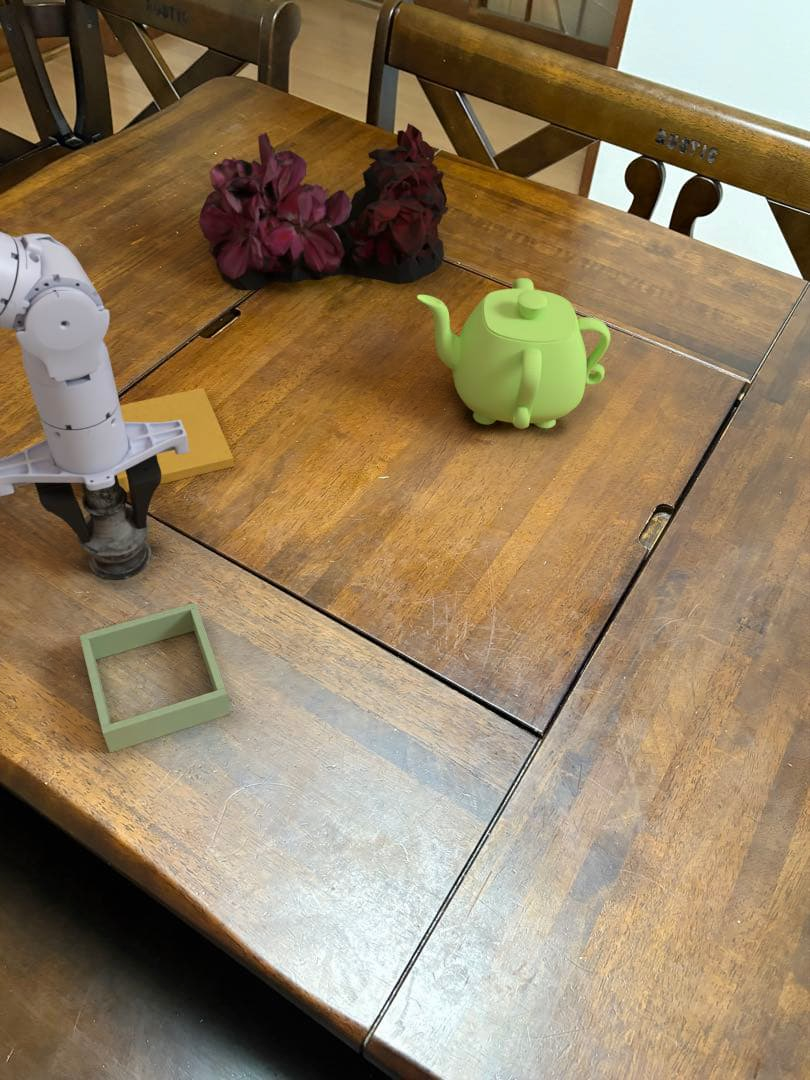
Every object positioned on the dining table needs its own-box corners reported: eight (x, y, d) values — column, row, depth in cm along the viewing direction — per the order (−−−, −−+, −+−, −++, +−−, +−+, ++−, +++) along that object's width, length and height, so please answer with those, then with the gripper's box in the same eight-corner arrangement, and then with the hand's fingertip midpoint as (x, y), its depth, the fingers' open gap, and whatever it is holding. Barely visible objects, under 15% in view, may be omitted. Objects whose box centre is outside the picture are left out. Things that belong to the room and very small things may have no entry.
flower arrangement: (413, 198, 124) (421, 84, 112) (479, 277, 112) (495, 159, 101) (186, 237, 114) (170, 116, 103) (233, 327, 103) (221, 203, 91)
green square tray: (109, 753, 68) (102, 733, 66) (86, 656, 73) (78, 634, 71) (230, 714, 71) (227, 693, 68) (199, 623, 76) (195, 601, 74)
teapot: (494, 471, 90) (513, 370, 81) (407, 392, 97) (415, 290, 88) (608, 411, 97) (638, 311, 88) (519, 341, 104) (538, 242, 95)
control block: (88, 510, 84) (81, 487, 81) (65, 426, 91) (58, 403, 88) (237, 473, 88) (235, 451, 85) (204, 396, 95) (201, 373, 93)
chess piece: (87, 588, 78) (55, 490, 69) (83, 537, 81) (52, 438, 72) (158, 576, 79) (135, 478, 70) (151, 526, 83) (129, 427, 74)
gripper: (-20, 463, 63) (30, 585, 73) (190, 416, 67) (208, 538, 77) (-31, 399, 67) (17, 523, 77) (166, 359, 71) (187, 482, 81)
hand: (112, 527), depth 77 cm, fingers closed on chess piece, 4 cm apart
